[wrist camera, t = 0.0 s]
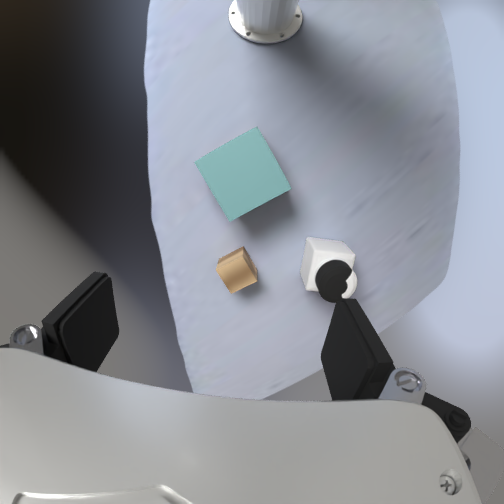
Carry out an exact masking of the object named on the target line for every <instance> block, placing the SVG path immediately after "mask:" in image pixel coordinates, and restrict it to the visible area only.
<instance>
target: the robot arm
mask: <svg viewBox="0 0 504 504" xmlns="http://www.w3.org/2000/svg"><path fill="white" fill-rule="evenodd" d="M298 2H299V0H235V1H234V2H233V3H232V5H231V6H230V9H229V21H230V24H231V26H232V28H233V29H234V31H235V32H236V33H238V34H239V35H240V36H242V37H243V38H245V39H247V40H250V41H253V42H256V43H264V44H270V43H278V42H281V41H284V40H287V39H288V38H290V37H292V36H293V35H294V34H295V33H296V32H297V31H298V30H299V28H300V26H301V23H302V12H301V9H300V7H299V5H298ZM233 14H234V15H233ZM297 17H298V18H297ZM247 35H250V36H247ZM280 36H282V37H283V38H281V37H280ZM42 324H43V327H42V329H40V328H39V327H38V326H36V325H34V324H25V325H21V326H19V327H18V328H16V329H15V330H14V331H13V332H12V333H11V335H10V343H9V344H5V345H1V346H0V504H486V503H487V501H488V499H489V498H490V496H491V494H492V493H493V490H494V489H495V487H496V485H497V484H498V482H499V480H500V478H501V476H502V474H503V472H504V449H503V448H502V447H501V446H499V445H498V444H497V443H496V442H494V441H493V440H492V439H490V438H489V437H488V436H487V435H485V434H484V433H483V432H481V431H480V430H479V429H478V428H476V427H475V428H474V429H472V428H471V421H470V418H469V416H468V414H467V413H466V412H465V411H464V410H462V409H461V408H459V407H456V406H454V405H452V404H450V403H448V402H445V401H443V400H441V399H439V398H437V397H434V396H433V395H430V394H428V393H426V392H425V390H426V382H425V379H424V378H423V377H422V375H421V374H419V373H418V372H416V371H415V370H413V369H409V368H403V367H402V368H397V369H396V368H395V367H394V365H393V361H392V359H391V357H390V355H389V354H388V352H387V350H386V348H385V347H384V345H383V343H382V341H381V340H380V338H379V336H378V335H377V333H376V331H375V329H374V328H373V326H372V324H371V323H370V321H369V319H368V318H367V316H366V315H365V313H364V311H363V310H362V308H361V306H360V305H359V303H358V302H357V300H356V299H348V298H342V299H341V301H338V302H337V303H336V305H335V309H334V312H333V316H332V319H331V323H330V326H329V329H328V333H327V336H326V339H325V342H324V346H323V349H322V352H321V361H322V365H323V368H324V372H325V375H326V379H327V382H328V386H329V390H330V393H331V397H332V401H273V400H255V399H242V398H231V397H221V396H212V395H204V394H197V393H190V392H184V391H178V390H171V389H166V388H161V387H155V386H150V385H146V384H141V383H137V382H132V381H128V380H124V379H119V378H116V377H112V376H108V375H104V374H101V373H97V370H98V368H99V367H100V365H101V363H102V362H103V360H104V358H105V357H106V355H107V354H108V352H109V350H110V349H111V347H112V346H113V344H114V342H115V341H116V339H117V338H118V335H119V327H118V321H117V316H116V309H115V303H114V296H113V288H112V281H111V278H110V277H108V275H107V274H106V273H100V272H93V273H92V274H91V275H90V276H89V277H88V278H86V279H85V280H84V281H83V282H82V283H81V284H80V285H79V286H77V288H75V289H74V290H73V291H72V292H71V293H70V294H69V295H68V296H67V297H66V298H65V299H64V300H63V301H61V302H60V303H59V304H58V305H57V306H56V307H55V308H54V309H53V310H52V311H51V312H50V313H49V314H48V315H47V316H46V317H45V318H44V319H43V320H42Z"/></svg>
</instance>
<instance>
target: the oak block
mask: <svg viewBox="0 0 504 504" xmlns="http://www.w3.org/2000/svg"><path fill="white" fill-rule="evenodd" d="M216 271H217V273H218V274H219V276H220V277H221V279H222V280H223V282H224V283H225V285H226V287H227V288H228V290H229V291H230V293H231V294H232V293H234V292H236V291H238V290H240V289H242V288H244V287H246V286H248V285H251V284H253V283H255V282H257V269H256V267H255V265H254V263H253V262H252V260H251V258H250V257H249V255H248V253H247V251H246V250H245V248H244V246H243V247H241V248H239V249H237V250H235V251H233V252H232V253H230V254H228V255H226V256H224V257H222V258H220V259H219V261H218V265H217V268H216Z"/></svg>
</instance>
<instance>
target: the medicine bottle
mask: <svg viewBox="0 0 504 504" xmlns="http://www.w3.org/2000/svg"><path fill="white" fill-rule="evenodd" d="M355 257H356V255H355V254H354V253H353V252H352V251H351V250H350V248H349V247H348V246H347V245H346V244H345V243H344V242H343V241H336V240H328V239H321V238H313V237H307V238H306V243H305V249H304V254H303V259H302V264H301V269H300V274H301V277H302V280H303V282H304V285H305V288H306V290H308V291H318V292H319V293H320V295H321V297H322V298H323V299H325V300H326V301H328V302H332V303H337V302H338V301H341V299H342V298H349V297H350V296H351V295H352V294H353V293H354V291H355V289H356V287H357V277H356V274H355V273H354V271H353V270H352V269H353V265H354V261H355Z"/></svg>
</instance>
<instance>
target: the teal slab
mask: <svg viewBox="0 0 504 504" xmlns="http://www.w3.org/2000/svg"><path fill="white" fill-rule="evenodd" d="M194 163H195V164H196V166H197V168H198V169H199V171H200V173H201V174H202V176H203V178H204V179H205V181H206V183H207V185H208V186H209V188H210V190H211V191H212V193H213V195H214V196H215V198H216V200H217V201H218V203H219V205H220V206H221V208H222V210H223V211H224V213H225V215H226V217H227V218H228V220H229V222H231V221H232V220H234V219H236V218H238V217H240V216H241V215H243V214H245V213H247V212H249V211H251V210H253V209H254V208H256V207H258V206H260V205H262V204H264V203H266V202H267V201H269V200H271V199H273V198H275V197H277V196H279V195H281V194H283V193H284V192H286V191H288V190H290V189H292V188H291V186H290V185H289V183H288V181H287V179H286V177H285V175H284V173H283V172H282V170H281V168H280V166H279V164H278V162H277V161H276V159H275V157H274V155H273V153H272V152H271V150H270V148H269V146H268V145H267V143H266V141H265V139H264V138H263V136H262V134H261V132H260V131H259V129H258V127H255V128H253V129H251V130H249V131H248V132H246V133H244V134H242V135H240V136H238V137H236V138H235V139H233V140H231V141H229V142H228V143H226V144H224V145H222V146H220V147H219V148H217V149H215V150H214V151H212V152H210V153H209V154H207V155H205V156H203V157H202V158H200V159H199V160H197V161H195V162H194Z"/></svg>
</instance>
